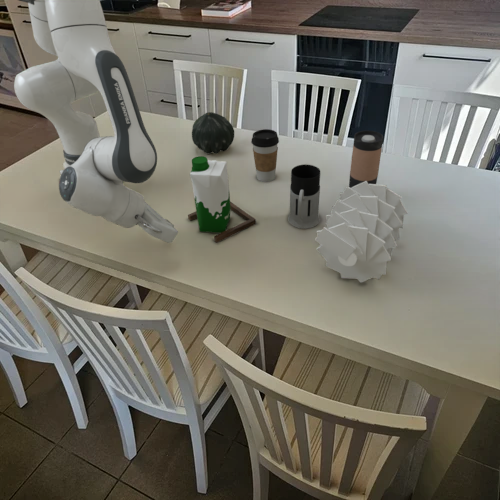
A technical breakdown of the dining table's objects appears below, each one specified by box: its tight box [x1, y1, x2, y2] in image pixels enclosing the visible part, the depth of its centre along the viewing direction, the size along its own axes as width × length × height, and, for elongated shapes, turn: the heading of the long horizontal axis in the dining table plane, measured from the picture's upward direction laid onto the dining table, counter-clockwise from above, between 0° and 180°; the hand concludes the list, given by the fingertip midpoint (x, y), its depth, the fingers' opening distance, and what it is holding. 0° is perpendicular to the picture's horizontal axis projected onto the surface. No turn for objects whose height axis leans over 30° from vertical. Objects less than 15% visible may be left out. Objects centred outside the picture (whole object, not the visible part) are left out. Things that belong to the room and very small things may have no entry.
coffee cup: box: [250, 128, 280, 183], centre depth 139 cm, size 8×8×15 cm
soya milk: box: [189, 155, 232, 234], centre depth 118 cm, size 9×9×20 cm
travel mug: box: [348, 130, 384, 188], centre depth 125 cm, size 8×8×20 cm
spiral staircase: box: [314, 181, 409, 284], centre depth 106 cm, size 18×18×25 cm
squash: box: [191, 111, 235, 155], centre depth 157 cm, size 14×15×15 cm
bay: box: [187, 201, 257, 243], centre depth 125 cm, size 14×13×2 cm
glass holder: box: [287, 164, 321, 229], centre depth 118 cm, size 9×14×15 cm, turn 167°
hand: (170, 225), depth 115 cm, fingers closed
